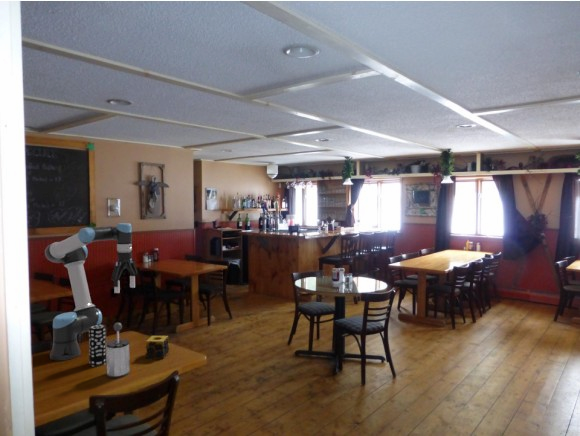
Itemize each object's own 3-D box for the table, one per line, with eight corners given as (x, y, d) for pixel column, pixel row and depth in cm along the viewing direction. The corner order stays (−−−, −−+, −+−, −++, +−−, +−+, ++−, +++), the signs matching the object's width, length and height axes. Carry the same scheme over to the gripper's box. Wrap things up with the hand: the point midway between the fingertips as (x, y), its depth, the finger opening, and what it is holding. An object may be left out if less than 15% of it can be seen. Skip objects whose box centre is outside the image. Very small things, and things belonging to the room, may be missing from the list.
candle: (163, 359, 233) (163, 341, 233) (145, 359, 233) (145, 341, 233) (169, 352, 243) (169, 335, 243) (151, 352, 244) (151, 335, 243)
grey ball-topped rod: (106, 372, 211) (106, 324, 210) (116, 366, 218) (115, 320, 217) (120, 374, 209) (119, 325, 208) (129, 368, 216) (128, 321, 215)
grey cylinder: (102, 376, 210) (102, 345, 209) (119, 366, 223) (118, 336, 222) (121, 379, 207) (120, 347, 207) (136, 368, 220) (136, 338, 219)
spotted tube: (99, 367, 222) (99, 329, 221) (85, 365, 223) (85, 328, 223) (109, 361, 230) (109, 325, 229) (96, 359, 232) (95, 324, 231)
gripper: (115, 254, 217) (116, 295, 218) (143, 249, 241) (144, 285, 242) (103, 254, 218) (103, 294, 219) (132, 248, 243) (132, 285, 244)
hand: (125, 290), depth 231 cm, fingers open, 13 cm apart
